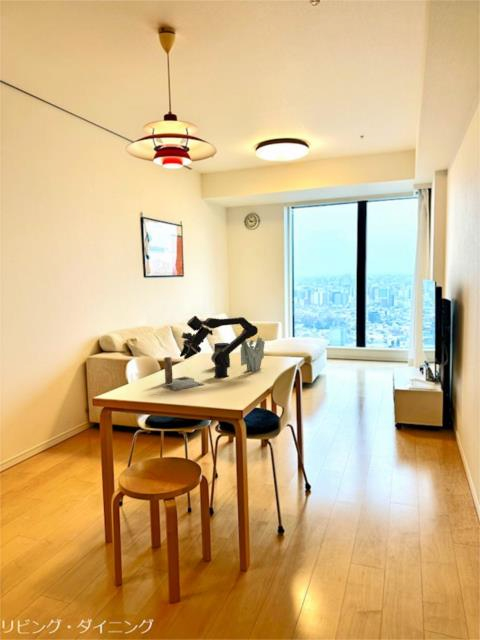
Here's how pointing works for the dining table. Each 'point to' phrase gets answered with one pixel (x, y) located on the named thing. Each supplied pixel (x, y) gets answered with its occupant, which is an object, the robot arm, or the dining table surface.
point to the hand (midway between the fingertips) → (182, 357)
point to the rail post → (168, 369)
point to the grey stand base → (182, 383)
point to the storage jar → (220, 347)
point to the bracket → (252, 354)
